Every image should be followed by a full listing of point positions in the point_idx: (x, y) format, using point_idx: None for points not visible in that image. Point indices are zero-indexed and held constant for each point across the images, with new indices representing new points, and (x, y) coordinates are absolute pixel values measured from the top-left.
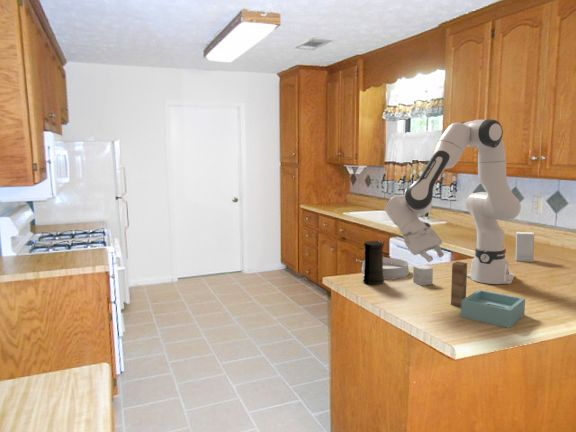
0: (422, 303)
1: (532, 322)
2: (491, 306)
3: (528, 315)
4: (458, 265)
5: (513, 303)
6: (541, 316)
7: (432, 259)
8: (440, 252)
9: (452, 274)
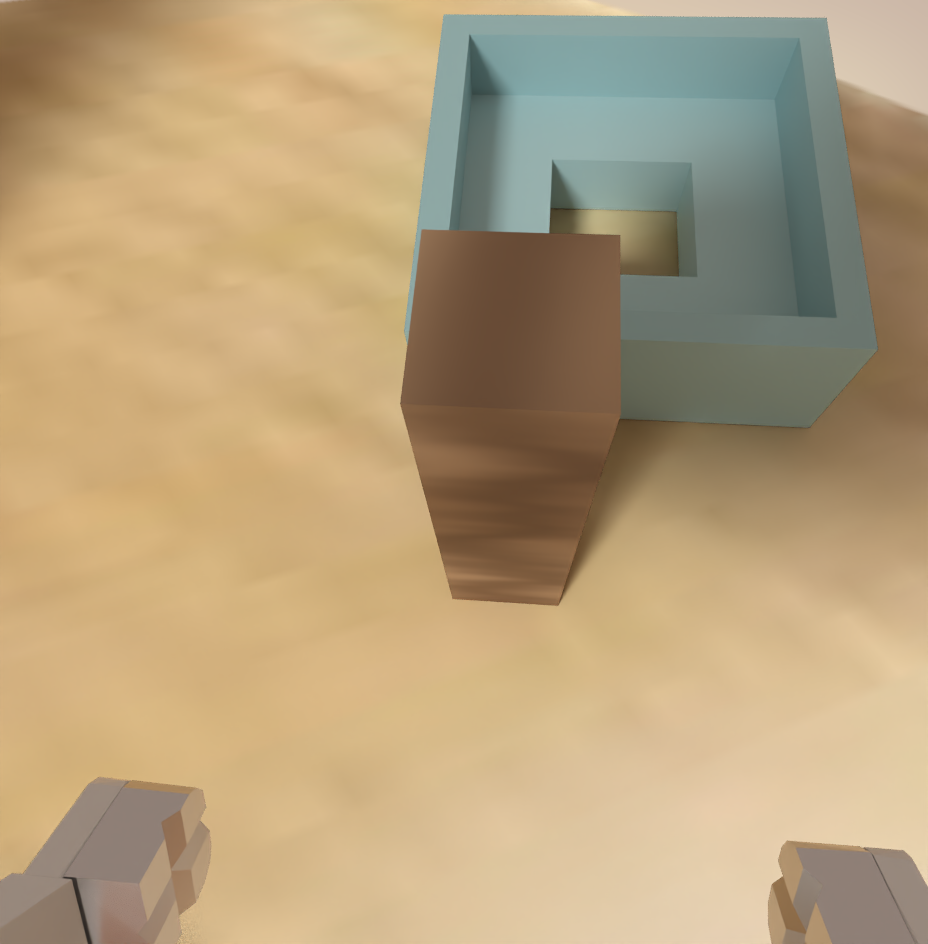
0: (725, 877)
1: None
2: (840, 125)
3: None
4: (618, 317)
5: (467, 117)
6: (415, 58)
7: (827, 844)
8: (155, 860)
9: (594, 488)
